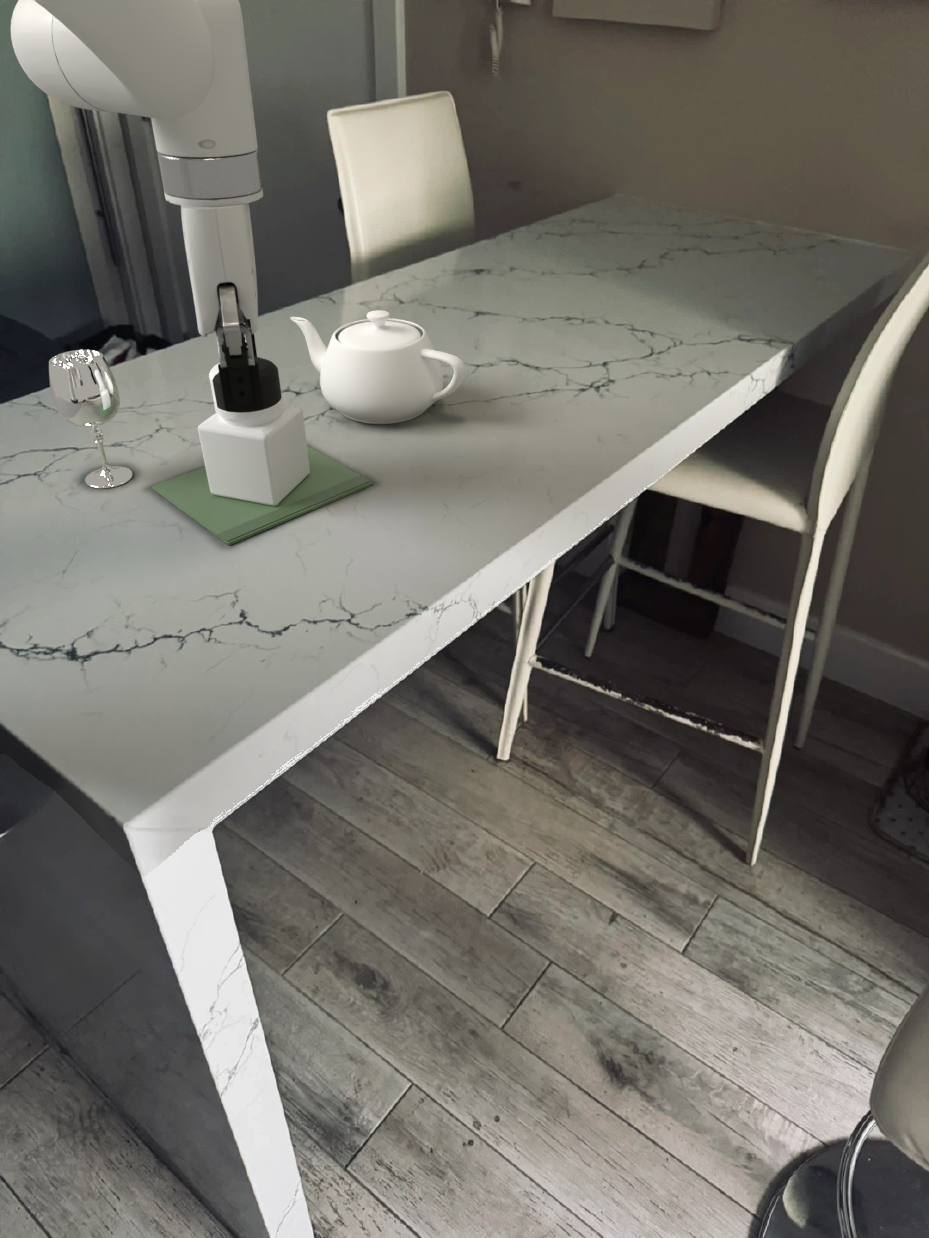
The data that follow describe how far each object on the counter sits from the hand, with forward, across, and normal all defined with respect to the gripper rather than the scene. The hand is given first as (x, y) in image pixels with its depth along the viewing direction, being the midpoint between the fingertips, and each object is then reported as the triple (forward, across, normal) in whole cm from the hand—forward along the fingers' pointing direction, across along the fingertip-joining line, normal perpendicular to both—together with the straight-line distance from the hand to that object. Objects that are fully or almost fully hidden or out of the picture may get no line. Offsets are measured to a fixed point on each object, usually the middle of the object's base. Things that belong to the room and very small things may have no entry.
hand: (242, 388), depth 78 cm
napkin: (+10, 0, 0) cm, 10 cm away
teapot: (+10, -16, +14) cm, 24 cm away
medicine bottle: (+10, 0, 0) cm, 10 cm away
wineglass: (+10, -6, -14) cm, 19 cm away
